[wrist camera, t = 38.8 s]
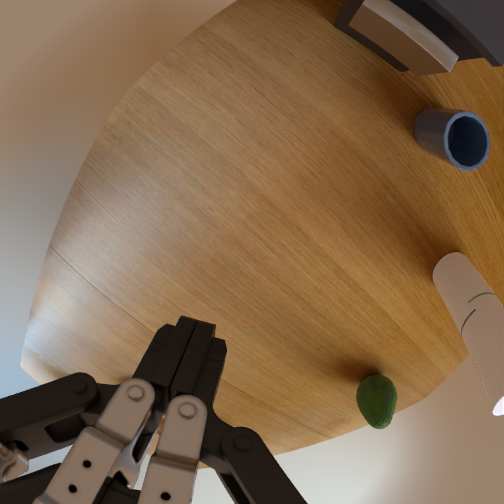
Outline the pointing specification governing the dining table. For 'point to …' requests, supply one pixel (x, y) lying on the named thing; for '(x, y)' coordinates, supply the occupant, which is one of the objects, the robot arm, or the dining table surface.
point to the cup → (453, 136)
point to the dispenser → (444, 27)
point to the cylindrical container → (475, 321)
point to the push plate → (403, 37)
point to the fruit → (377, 400)
